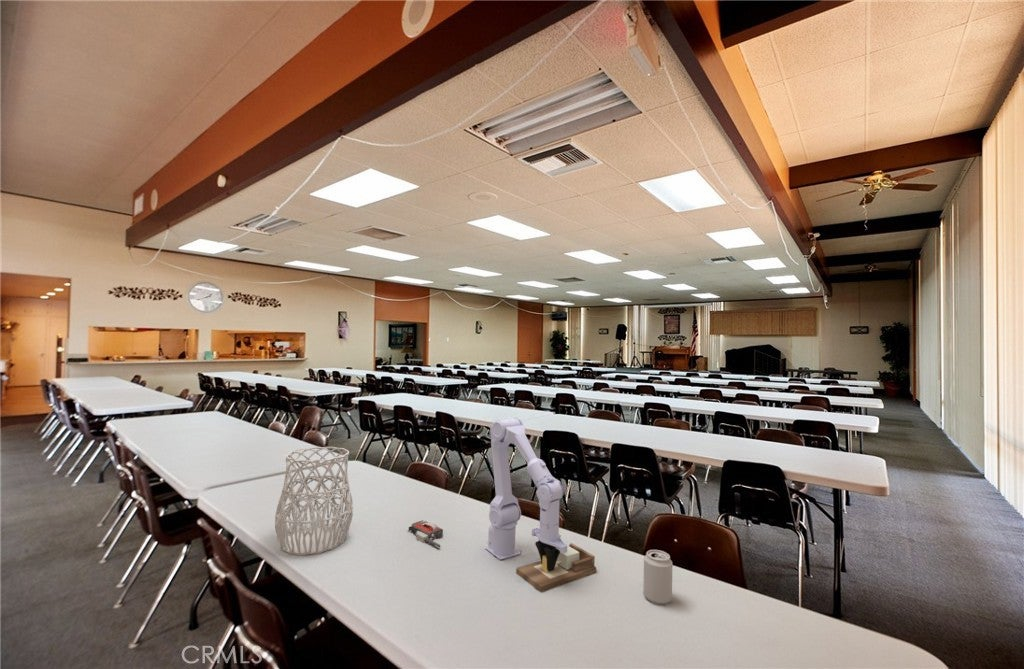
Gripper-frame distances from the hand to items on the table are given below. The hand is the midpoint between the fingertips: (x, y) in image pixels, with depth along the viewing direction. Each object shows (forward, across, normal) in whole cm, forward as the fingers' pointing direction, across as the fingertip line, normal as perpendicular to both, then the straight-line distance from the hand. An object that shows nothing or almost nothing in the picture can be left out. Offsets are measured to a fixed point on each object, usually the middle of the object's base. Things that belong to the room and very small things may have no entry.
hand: (548, 568), depth 130 cm
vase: (+2, +59, +55) cm, 81 cm away
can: (+2, -25, -18) cm, 31 cm away
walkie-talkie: (+3, +42, +20) cm, 47 cm away
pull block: (0, 0, -4) cm, 4 cm away
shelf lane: (+2, 0, -3) cm, 3 cm away
